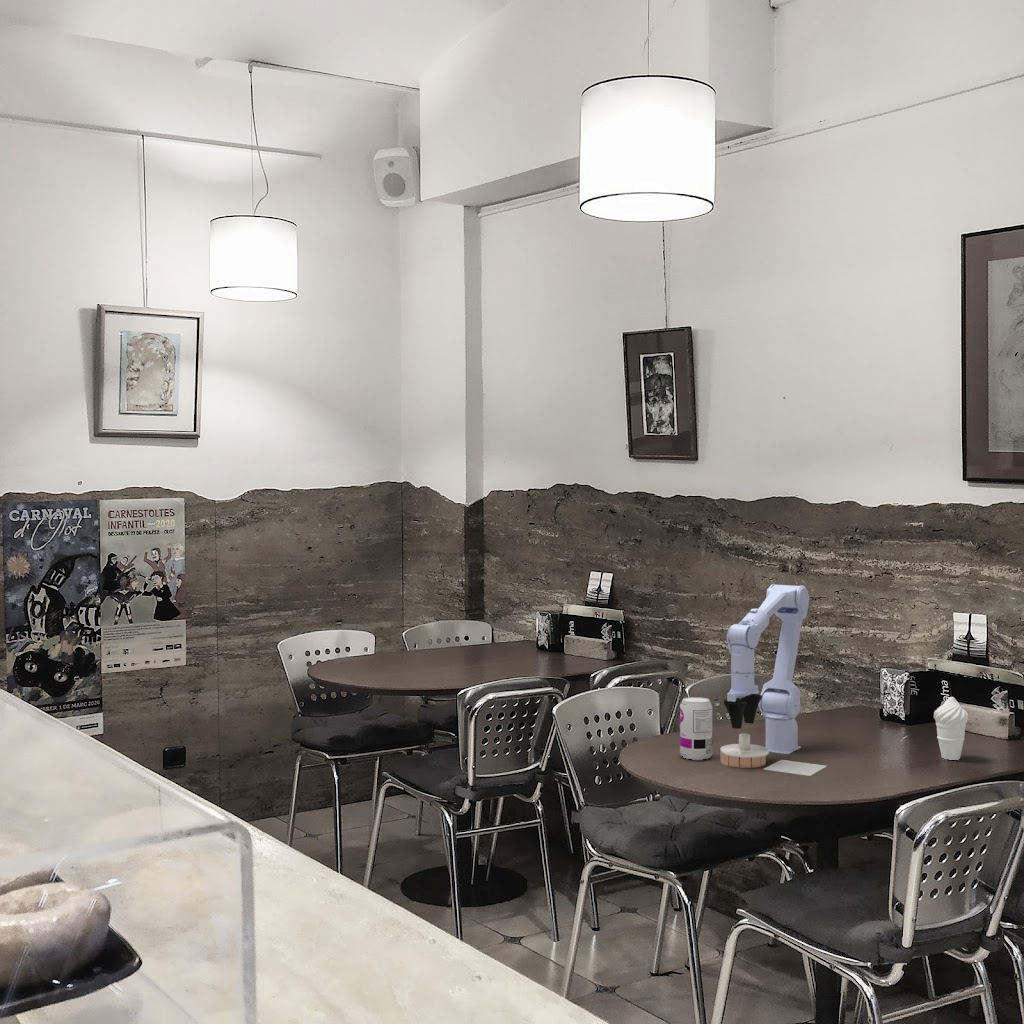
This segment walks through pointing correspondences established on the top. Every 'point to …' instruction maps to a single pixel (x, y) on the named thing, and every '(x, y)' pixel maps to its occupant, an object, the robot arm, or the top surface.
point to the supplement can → (696, 728)
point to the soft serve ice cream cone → (951, 728)
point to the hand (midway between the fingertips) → (742, 725)
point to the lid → (744, 748)
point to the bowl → (742, 761)
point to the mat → (795, 767)
